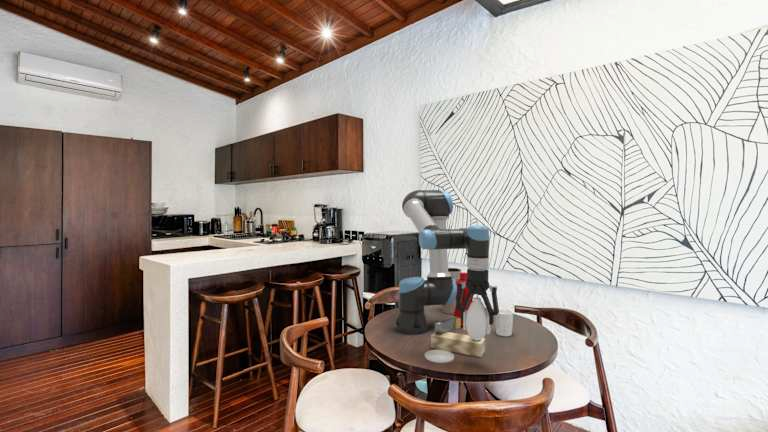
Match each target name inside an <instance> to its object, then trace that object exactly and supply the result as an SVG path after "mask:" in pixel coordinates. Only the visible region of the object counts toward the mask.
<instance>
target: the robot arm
mask: <svg viewBox="0 0 768 432" xmlns="http://www.w3.org/2000/svg"><path fill="white" fill-rule="evenodd" d="M401 208H402V211H403V213H404V214H405V215H404V216H406V217H408V218H409V220H411V222H412V223H413V225H414V227H415V228H416V230H417V231H418V244H419V247H420V248H421V249H422V250H428V255H429V256H428V257H429V260H428V261H429V273H428V274H427V275H426V279H425V278H424V277H422V276H412V277H405V278H403V279H402V280H400V281H399V285H398V314H397V316H396V320H395V324H394V329H395V331H397V332H398V333H402V334H406V335H420V334H423V333H427V331H428V330H429V324H428V320H427V317H426V314H425V307H426V306H427V307H428V306H442V305H446V304H452V303H453V302H454V300H455V298H456V295H457V285H456V281H455V280H454V279H452V275H451V274H450V273H449V272H448V268H449V260H448V257H449V256H448V250H460V249H462V250H464V249H465V250H467V251H466V252H467V254H466V255H467V256H466V258H467V259H466V267H467V269H466V273H467V281H466V282H464V283H463V282H460V283H459V284H458V287H459V292H458V298H457V303H456V309H458V310H460V311H461V320H463V327H462V330H463V331H467V329H466V315H467V311H466V310H465V309H466V307H467V305H468V303H469V301H470V298H471V296H472V294H474V296H475V295H476V296H477V295H478V296H481V297H480V298H481V299H482V300H483V302H484V303H483V304H484V306H485V309H486V312H487V332H486V335H490V334H491V326H493V324H494V322H495V315H498V313H499V309H500V308H499V303H498V295H497V291H498V286H497V285H491V284H490V283H489V267H490V266H489V265H490V264H489V263H490V262H489V261H490V257H489V253H490V229H489V227H488V226H486V225H478V224H477V225H476V224H475V225H469V226H468V227H467V228H466V227H465V228H463V227H461V228H455V229H454V228H452V229H451V228H450V229H447V221H448V219H450V215H452V213H453V210H454V201H453V198H452V195H451V194H450V192H449V191H447V190H444V189H443V190H440V189H437V190H436V189H430V190H429V189H427V190H426V189H424V190H421V189H417V190H413V191H411V192H409V193H407V195H405V197H404V198H403V200H402V204H401ZM465 286H467V288H468V289H469V292H468V294H467V297H466V299H465V301H464V303H463V305H462V306H461V303H462V297H463V291H464V288H465ZM488 289H489V291H490V292H491V300H492V301H491V302H492V304H491V302H490V300H489V299H490V298H489V297H488V296H489V295H488V293H487V291H488ZM492 305H493V306H492Z"/></svg>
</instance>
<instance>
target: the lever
mask: <svg viewBox="0 0 768 432" xmlns="http://www.w3.org/2000/svg"><path fill="white" fill-rule="evenodd" d="M461 327H462V326H461V318H459V317H455V316H454V315H453V316H450V317H449V318H446V319H443V320H441V321H435V322H434V332H435V333H436V334H442V333H444V332H450V331H452V330H455V329H456V330H457V329H460V328H461Z"/></svg>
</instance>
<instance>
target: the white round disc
mask: <svg viewBox="0 0 768 432" xmlns="http://www.w3.org/2000/svg"><path fill="white" fill-rule="evenodd" d="M424 358H425V359H426V360H427V361H428V362H431V363H435V364H447V363H450V362H453V361H454V360H455V355H454V354H453V353H452V352H451V351H446V350H441V349H431V350H430V349H429V350H428V351H425V353H424Z"/></svg>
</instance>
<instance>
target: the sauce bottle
mask: <svg viewBox="0 0 768 432" xmlns="http://www.w3.org/2000/svg"><path fill="white" fill-rule="evenodd" d="M487 315H488V311H487V308H486V306H485V303H483V302H482V297H479V295H477V294H476V296H475V297H473V301H472V303H471V304H470V306H469V308H468V311H467V315H466V331H467V335H469V336H470V337H472V339H474V340H476V341H478V340H481V339H482V338H485V336H486V335H487Z"/></svg>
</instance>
